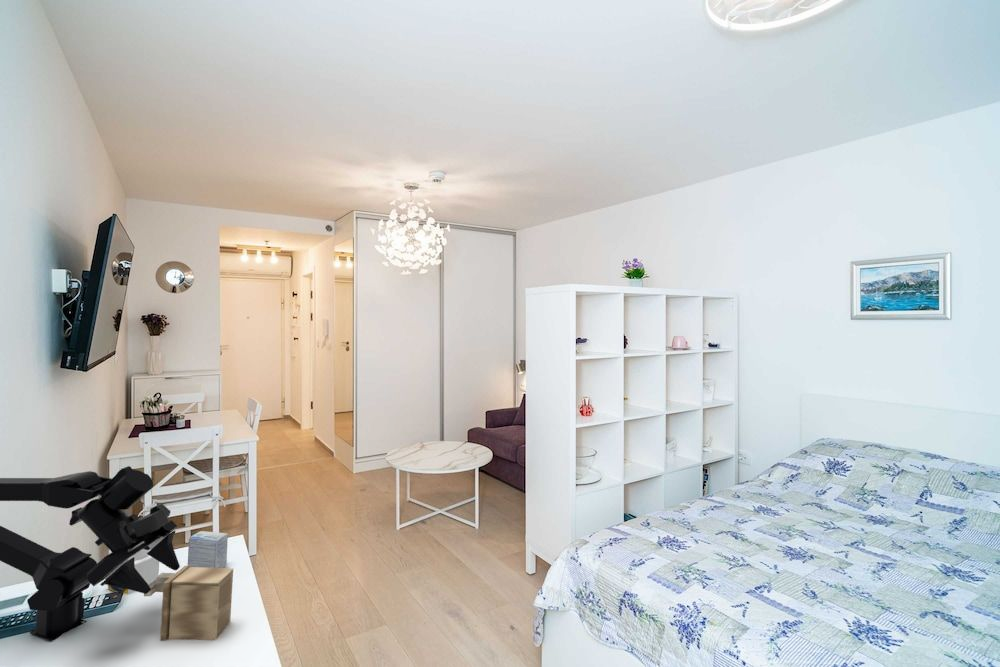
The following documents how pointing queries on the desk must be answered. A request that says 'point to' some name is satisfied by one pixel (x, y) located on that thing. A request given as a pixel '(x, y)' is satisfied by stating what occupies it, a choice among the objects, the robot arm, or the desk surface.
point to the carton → (200, 603)
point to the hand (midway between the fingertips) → (164, 579)
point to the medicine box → (208, 550)
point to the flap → (165, 597)
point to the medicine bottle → (142, 569)
